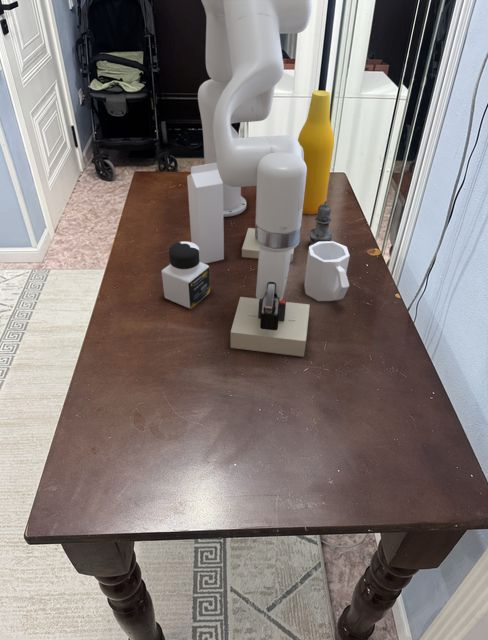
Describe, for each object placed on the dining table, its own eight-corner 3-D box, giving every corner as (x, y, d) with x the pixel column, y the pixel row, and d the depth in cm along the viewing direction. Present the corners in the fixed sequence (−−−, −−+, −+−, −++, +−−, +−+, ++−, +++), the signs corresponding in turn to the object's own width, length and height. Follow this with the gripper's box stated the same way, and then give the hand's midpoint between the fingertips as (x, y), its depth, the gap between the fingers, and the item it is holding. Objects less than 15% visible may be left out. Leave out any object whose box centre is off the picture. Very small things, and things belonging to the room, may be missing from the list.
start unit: (241, 257, 117) (241, 242, 114) (248, 235, 124) (248, 221, 121) (292, 262, 116) (293, 247, 113) (295, 240, 123) (297, 225, 120)
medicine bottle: (190, 310, 102) (187, 260, 94) (163, 298, 105) (158, 249, 96) (210, 292, 106) (208, 244, 98) (184, 282, 109) (180, 233, 101)
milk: (224, 259, 116) (223, 168, 101) (199, 265, 114) (195, 173, 99) (214, 246, 120) (213, 157, 105) (191, 251, 118) (185, 161, 103)
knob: (258, 318, 94) (258, 300, 91) (259, 313, 95) (259, 296, 92) (284, 321, 94) (285, 303, 91) (284, 316, 95) (286, 299, 92)
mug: (297, 284, 109) (301, 245, 103) (330, 275, 112) (336, 237, 105) (324, 315, 102) (330, 276, 95) (359, 306, 104) (368, 266, 97)
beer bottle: (324, 200, 139) (340, 88, 119) (325, 216, 132) (342, 100, 112) (291, 198, 139) (301, 86, 119) (291, 214, 133) (301, 98, 113)
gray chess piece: (330, 254, 118) (337, 208, 110) (306, 251, 119) (311, 205, 111) (332, 242, 123) (339, 196, 114) (308, 239, 123) (314, 194, 115)
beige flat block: (230, 347, 94) (230, 331, 91) (240, 312, 102) (240, 295, 99) (303, 356, 93) (306, 340, 90) (307, 319, 101) (309, 303, 98)
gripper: (262, 205, 88) (258, 284, 100) (247, 258, 76) (245, 341, 88) (303, 209, 88) (295, 288, 100) (295, 263, 75) (287, 346, 87)
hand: (271, 313), depth 94 cm, fingers open, 8 cm apart
